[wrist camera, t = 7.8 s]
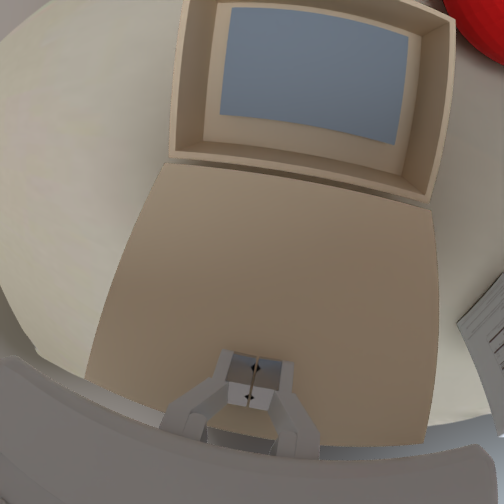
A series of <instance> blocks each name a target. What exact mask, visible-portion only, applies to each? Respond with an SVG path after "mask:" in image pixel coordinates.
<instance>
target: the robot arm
mask: <svg viewBox="0 0 504 504" xmlns="http://www.w3.org/2000/svg"><path fill="white" fill-rule="evenodd" d="M256 358H257V356H254V355H249V354H245V353H240V352H236V351H231V350H227V349H222V351H221V353H220V356H219V359H218V362H217V365H216V368H215V371H214V374H213V377H212V378H210V377H208V378H207V379H205V380H204V381H203V382H201V383H200V384H198V385H197V386H195V387H194V388H192V389H191V390H189V391H188V392H187V393H185V394H184V395H182V396H181V397H179V398H177V399H176V400H174V401H173V402H171V403H170V404H169V405H168V407H167V410H166V412H165V414H164V417H163V419H162V422H161V424H160V426H159V429H158V428H155V427H152V426H149V425H147V424H144V423H141V422H139V421H136V420H134V419H131V418H129V417H126V416H124V415H122V414H119V413H117V412H115V411H112V410H110V409H108V408H106V407H103V406H101V405H99V404H97V403H95V402H93V401H91V400H89V399H87V398H85V397H83V396H81V395H79V394H77V393H76V392H74V391H72V390H70V389H68V388H66V387H65V386H63V385H61V384H60V383H58V382H56V381H54V380H53V379H51V378H49V377H48V376H46V375H45V374H43V373H41V372H40V371H38V370H37V369H35V368H34V367H32V366H31V365H29V364H28V363H26V362H25V361H24V360H22V359H21V358H19V357H18V356H14V355H13V356H8V357H5V358H2V359H0V504H498V492H497V477H496V469H495V464H494V461H493V459H492V458H491V456H490V455H489V454H488V453H487V452H486V451H485V450H484V449H483V448H482V447H481V446H480V445H478V444H471V445H468V446H464V447H460V448H456V449H451V450H446V451H441V452H436V453H430V454H425V455H418V456H411V457H402V458H392V459H379V460H357V461H356V460H354V461H338V460H319V449H320V432H319V431H318V429H317V428H316V426H315V424H314V423H313V421H312V420H311V418H310V416H309V415H308V413H307V412H306V410H305V409H304V407H303V405H302V404H301V402H300V400H299V399H298V397H297V396H296V394H295V393H292V386H293V374H294V362H291V361H285V360H280V359H274V358H267V357H261V356H259V360H258V364H257V369H256V374H255V379H254V384H253V388H252V393H251V398H250V403H249V407H250V408H255V409H260V410H265V411H268V414H269V416H270V419H271V421H272V423H273V425H274V427H275V430H276V432H277V434H278V437H277V439H276V441H275V443H274V444H273V446H272V448H271V450H270V452H269V455H263V454H257V453H250V452H245V451H240V450H235V449H230V448H225V447H221V446H217V445H212V444H208V443H207V440H208V435H207V421H208V420H210V419H211V418H212V417H213V416H214V415H215V414H217V413H218V412H219V411H220V410H221V409H222V408H223V407H224V406H226V405H227V403H228V404H233V405H239V406H245V407H246V405H247V401H248V397H249V392H250V388H251V383H252V378H253V373H254V368H255V363H256Z"/></svg>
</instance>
